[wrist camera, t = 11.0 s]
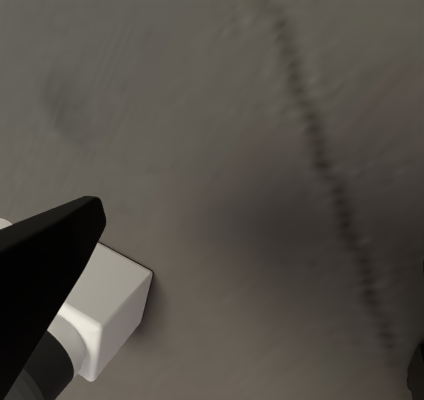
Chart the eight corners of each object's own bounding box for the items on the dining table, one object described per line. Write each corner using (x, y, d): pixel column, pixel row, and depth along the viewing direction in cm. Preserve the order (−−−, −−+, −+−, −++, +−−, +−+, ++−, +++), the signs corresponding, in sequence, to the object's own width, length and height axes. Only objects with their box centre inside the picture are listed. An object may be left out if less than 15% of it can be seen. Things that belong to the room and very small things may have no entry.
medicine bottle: (89, 235, 29) (-49, 329, 19) (154, 270, 28) (42, 392, 18) (84, 288, 33) (-35, 391, 23) (142, 322, 32) (42, 448, 21)
